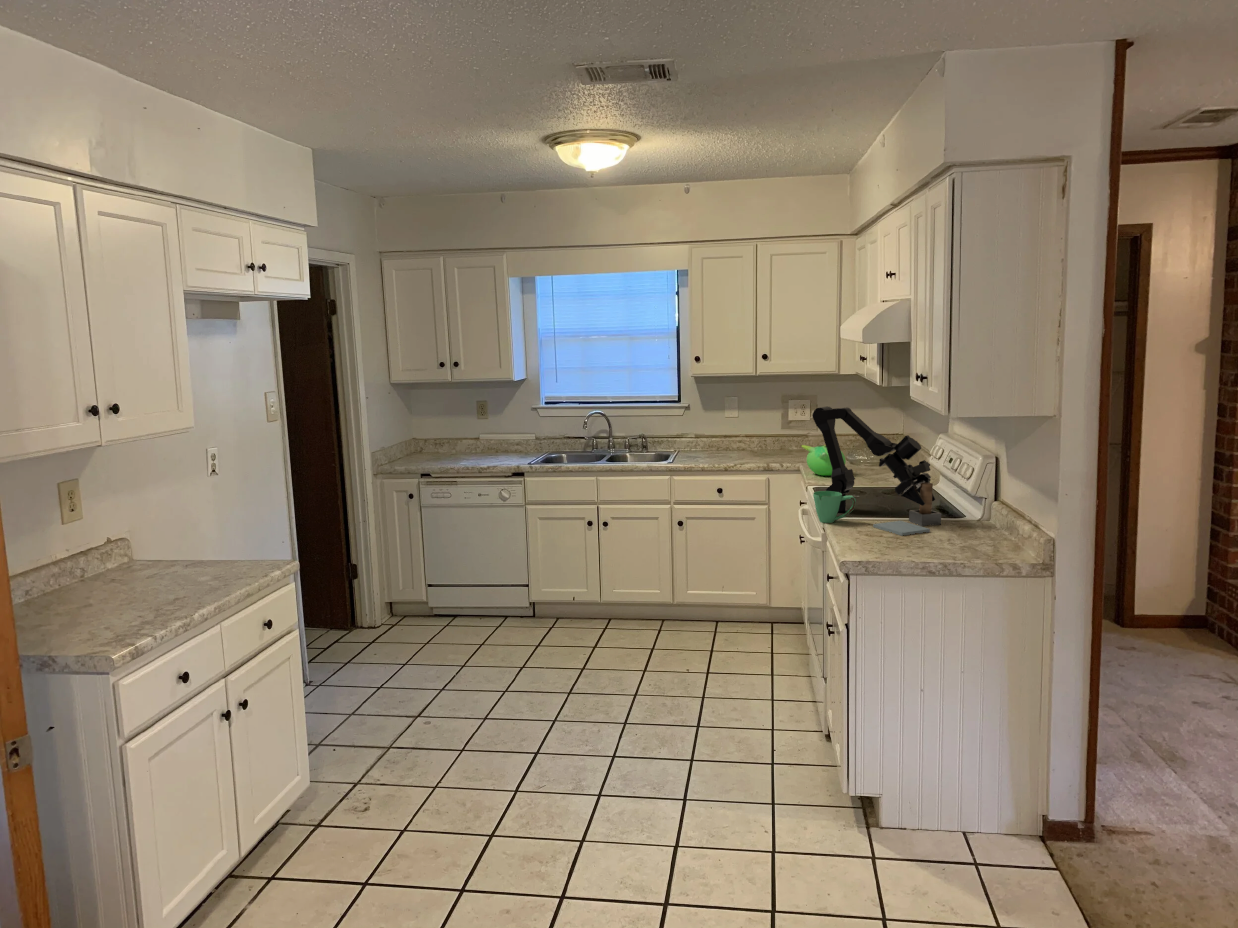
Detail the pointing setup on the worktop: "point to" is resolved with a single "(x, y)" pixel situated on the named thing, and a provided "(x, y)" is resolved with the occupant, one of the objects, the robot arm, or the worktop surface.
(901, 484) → the robot arm
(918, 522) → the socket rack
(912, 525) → the board
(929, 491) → the dowel
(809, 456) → the toy bird
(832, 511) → the mug
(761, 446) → the worktop surface
